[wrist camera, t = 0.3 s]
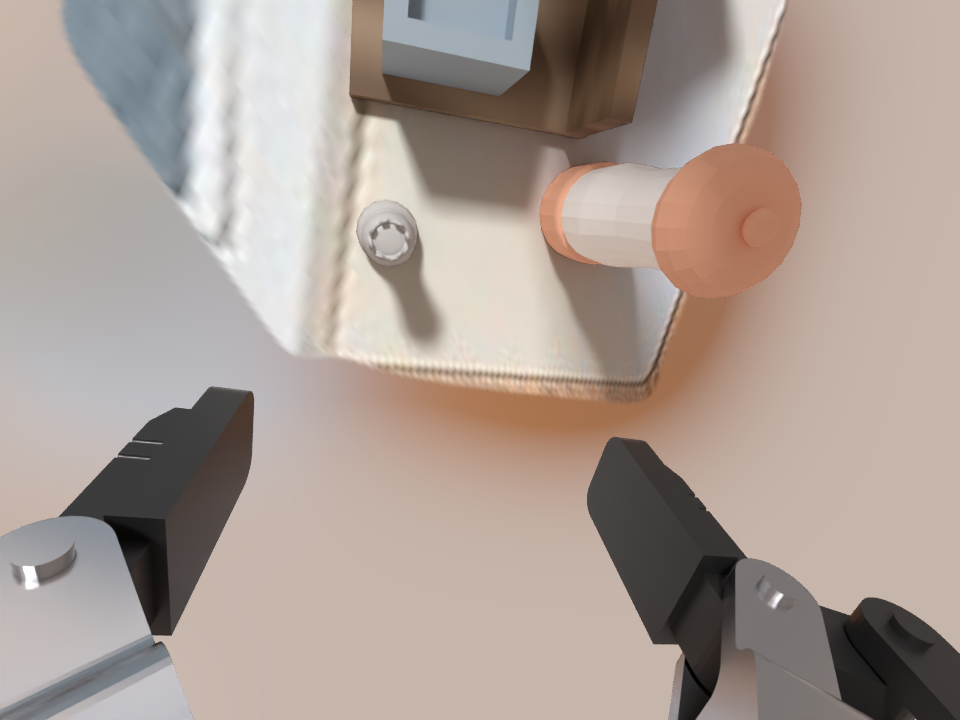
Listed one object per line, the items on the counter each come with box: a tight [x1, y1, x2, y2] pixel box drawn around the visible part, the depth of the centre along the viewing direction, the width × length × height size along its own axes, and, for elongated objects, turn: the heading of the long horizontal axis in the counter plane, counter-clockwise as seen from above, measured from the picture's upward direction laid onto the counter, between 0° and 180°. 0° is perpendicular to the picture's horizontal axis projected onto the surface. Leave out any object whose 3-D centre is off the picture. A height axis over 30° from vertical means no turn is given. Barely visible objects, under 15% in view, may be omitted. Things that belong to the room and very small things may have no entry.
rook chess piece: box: [356, 200, 418, 266], centre depth 31 cm, size 4×4×8 cm
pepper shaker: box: [540, 143, 801, 298], centre depth 28 cm, size 7×7×19 cm
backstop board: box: [349, 0, 657, 139], centre depth 27 cm, size 11×17×8 cm, turn 83°
